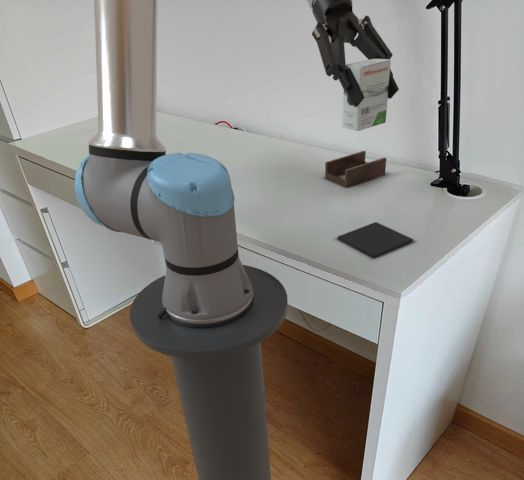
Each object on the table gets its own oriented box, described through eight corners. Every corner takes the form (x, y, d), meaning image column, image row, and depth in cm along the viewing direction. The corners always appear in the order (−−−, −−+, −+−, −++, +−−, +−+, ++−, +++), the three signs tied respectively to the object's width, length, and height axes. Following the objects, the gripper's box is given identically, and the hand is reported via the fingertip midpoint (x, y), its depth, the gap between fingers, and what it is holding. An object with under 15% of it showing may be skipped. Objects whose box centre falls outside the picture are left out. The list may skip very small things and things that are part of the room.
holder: (346, 187, 117) (347, 170, 115) (324, 178, 122) (325, 162, 120) (384, 174, 122) (386, 158, 120) (362, 166, 127) (363, 150, 125)
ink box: (369, 119, 109) (374, 56, 101) (386, 123, 106) (393, 59, 98) (340, 127, 105) (343, 63, 98) (357, 131, 102) (361, 65, 94)
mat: (373, 258, 90) (373, 255, 90) (337, 239, 97) (337, 236, 96) (412, 241, 94) (413, 239, 94) (375, 224, 101) (375, 221, 100)
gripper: (357, 9, 108) (403, 101, 107) (277, 20, 99) (326, 120, 99) (377, -22, 101) (426, 76, 100) (292, -13, 93) (345, 94, 92)
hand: (376, 98), depth 100 cm, fingers closed on ink box, 9 cm apart
